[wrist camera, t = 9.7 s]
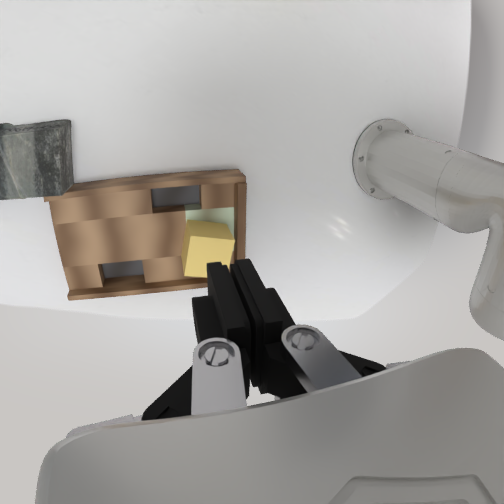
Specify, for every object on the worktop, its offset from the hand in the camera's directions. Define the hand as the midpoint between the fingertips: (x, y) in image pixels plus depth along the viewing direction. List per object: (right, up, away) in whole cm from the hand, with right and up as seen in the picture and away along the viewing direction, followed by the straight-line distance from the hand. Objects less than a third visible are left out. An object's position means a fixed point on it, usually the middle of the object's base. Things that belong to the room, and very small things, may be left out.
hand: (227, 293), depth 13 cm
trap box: (-13, +5, +28) cm, 31 cm away
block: (-5, +3, +28) cm, 28 cm away
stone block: (-28, +14, +19) cm, 36 cm away
